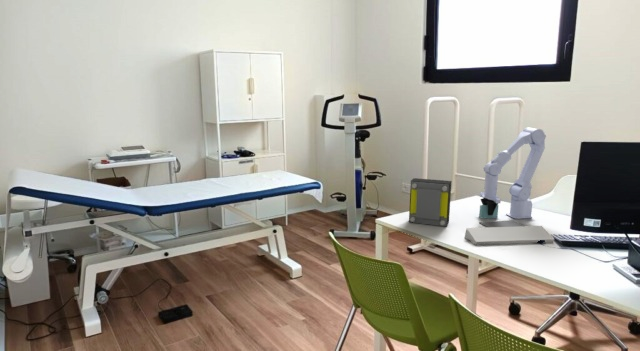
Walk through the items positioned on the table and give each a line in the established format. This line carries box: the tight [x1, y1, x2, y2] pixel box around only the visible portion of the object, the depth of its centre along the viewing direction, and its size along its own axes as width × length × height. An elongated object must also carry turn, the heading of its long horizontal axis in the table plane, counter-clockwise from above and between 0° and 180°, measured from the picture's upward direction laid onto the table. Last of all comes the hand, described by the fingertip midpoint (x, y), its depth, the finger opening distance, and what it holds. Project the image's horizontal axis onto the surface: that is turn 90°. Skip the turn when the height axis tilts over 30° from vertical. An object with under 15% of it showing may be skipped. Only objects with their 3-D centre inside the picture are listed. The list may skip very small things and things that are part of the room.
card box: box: [478, 204, 499, 219], centre depth 226 cm, size 9×2×6 cm, turn 103°
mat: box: [478, 219, 526, 228], centre depth 212 cm, size 18×14×1 cm
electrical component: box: [408, 177, 452, 227], centre depth 215 cm, size 18×10×20 cm, turn 68°
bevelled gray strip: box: [464, 225, 555, 246], centre depth 194 cm, size 34×5×10 cm
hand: (488, 214), depth 226 cm, fingers open, 3 cm apart
